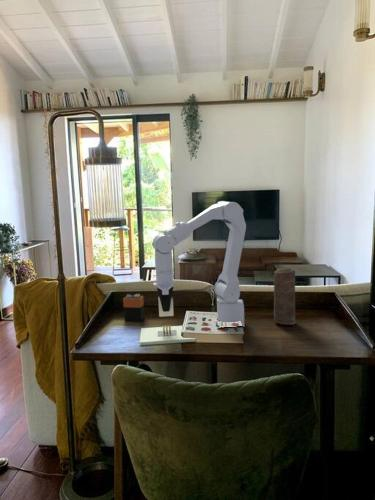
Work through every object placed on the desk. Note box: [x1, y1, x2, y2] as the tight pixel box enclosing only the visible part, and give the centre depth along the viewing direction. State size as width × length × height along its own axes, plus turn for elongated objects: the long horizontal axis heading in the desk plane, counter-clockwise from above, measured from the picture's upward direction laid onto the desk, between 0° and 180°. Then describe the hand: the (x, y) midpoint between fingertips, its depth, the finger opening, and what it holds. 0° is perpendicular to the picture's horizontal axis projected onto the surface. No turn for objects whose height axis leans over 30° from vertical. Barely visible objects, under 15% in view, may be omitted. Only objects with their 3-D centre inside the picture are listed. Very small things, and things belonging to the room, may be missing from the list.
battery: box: [122, 293, 146, 323], centre depth 147 cm, size 4×7×10 cm, turn 76°
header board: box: [139, 324, 196, 346], centre depth 131 cm, size 18×12×4 cm, turn 94°
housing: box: [157, 295, 175, 318], centre depth 131 cm, size 5×3×6 cm
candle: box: [273, 267, 296, 326], centre depth 136 cm, size 8×7×20 cm
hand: (166, 309), depth 131 cm, fingers closed on housing, 3 cm apart
